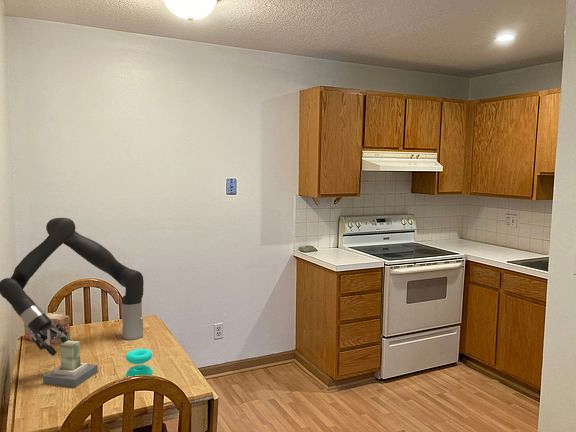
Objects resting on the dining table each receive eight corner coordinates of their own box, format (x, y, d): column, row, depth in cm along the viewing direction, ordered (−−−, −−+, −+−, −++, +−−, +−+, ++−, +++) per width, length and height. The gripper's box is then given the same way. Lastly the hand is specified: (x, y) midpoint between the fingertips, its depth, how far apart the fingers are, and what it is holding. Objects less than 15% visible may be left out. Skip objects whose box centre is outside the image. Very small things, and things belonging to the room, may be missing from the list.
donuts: (141, 358, 182) (120, 355, 185) (142, 383, 183) (120, 379, 186) (157, 349, 191) (136, 346, 194) (157, 373, 192) (137, 369, 195)
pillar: (69, 367, 190) (68, 340, 189) (80, 368, 189) (79, 341, 188) (61, 372, 185) (60, 344, 184) (72, 373, 184) (71, 345, 183)
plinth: (67, 368, 195) (66, 358, 195) (97, 372, 193) (97, 361, 192) (43, 383, 182) (42, 372, 181) (75, 387, 179) (75, 375, 178)
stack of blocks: (24, 339, 229) (23, 314, 227) (35, 335, 235) (34, 310, 233) (60, 344, 222) (59, 319, 221) (70, 340, 228) (69, 315, 227)
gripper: (28, 318, 180) (56, 350, 179) (53, 308, 194) (79, 338, 193) (16, 331, 182) (44, 363, 180) (42, 320, 196) (68, 349, 194)
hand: (62, 350), depth 187 cm, fingers open, 8 cm apart
